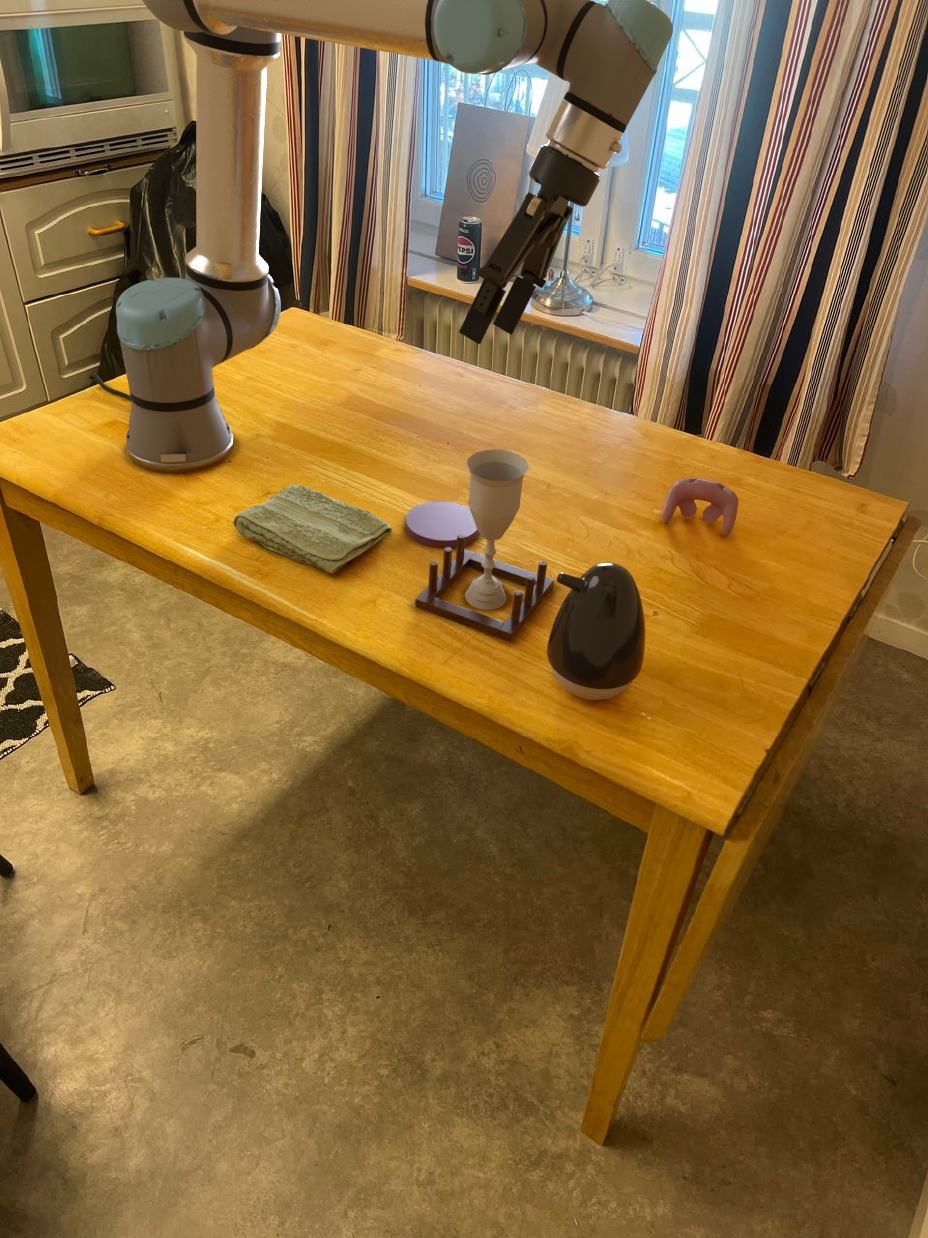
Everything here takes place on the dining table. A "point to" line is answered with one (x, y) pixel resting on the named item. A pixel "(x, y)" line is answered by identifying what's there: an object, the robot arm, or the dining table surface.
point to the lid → (440, 524)
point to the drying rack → (534, 582)
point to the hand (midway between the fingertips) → (486, 333)
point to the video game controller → (704, 490)
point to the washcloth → (311, 528)
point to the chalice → (493, 514)
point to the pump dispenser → (598, 633)
